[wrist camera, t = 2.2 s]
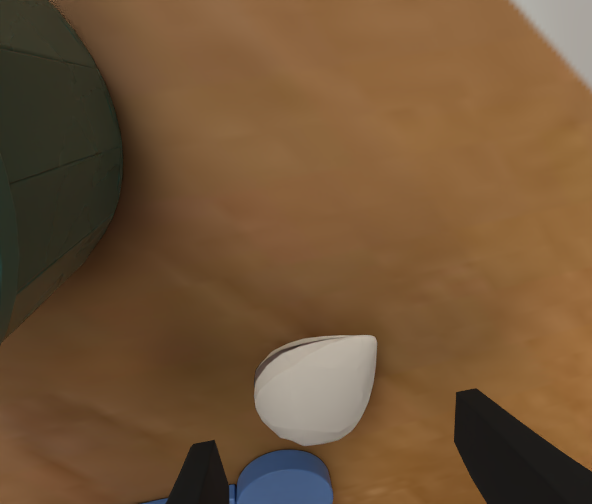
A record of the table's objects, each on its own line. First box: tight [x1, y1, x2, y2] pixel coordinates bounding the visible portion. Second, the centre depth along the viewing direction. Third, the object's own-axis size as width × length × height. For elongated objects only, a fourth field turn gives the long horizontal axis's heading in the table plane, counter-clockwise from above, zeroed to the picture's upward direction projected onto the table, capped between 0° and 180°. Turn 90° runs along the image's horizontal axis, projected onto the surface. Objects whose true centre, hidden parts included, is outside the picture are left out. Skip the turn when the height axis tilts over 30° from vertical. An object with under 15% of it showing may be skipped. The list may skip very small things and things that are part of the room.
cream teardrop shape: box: [254, 335, 377, 446], centre depth 13 cm, size 4×5×2 cm
